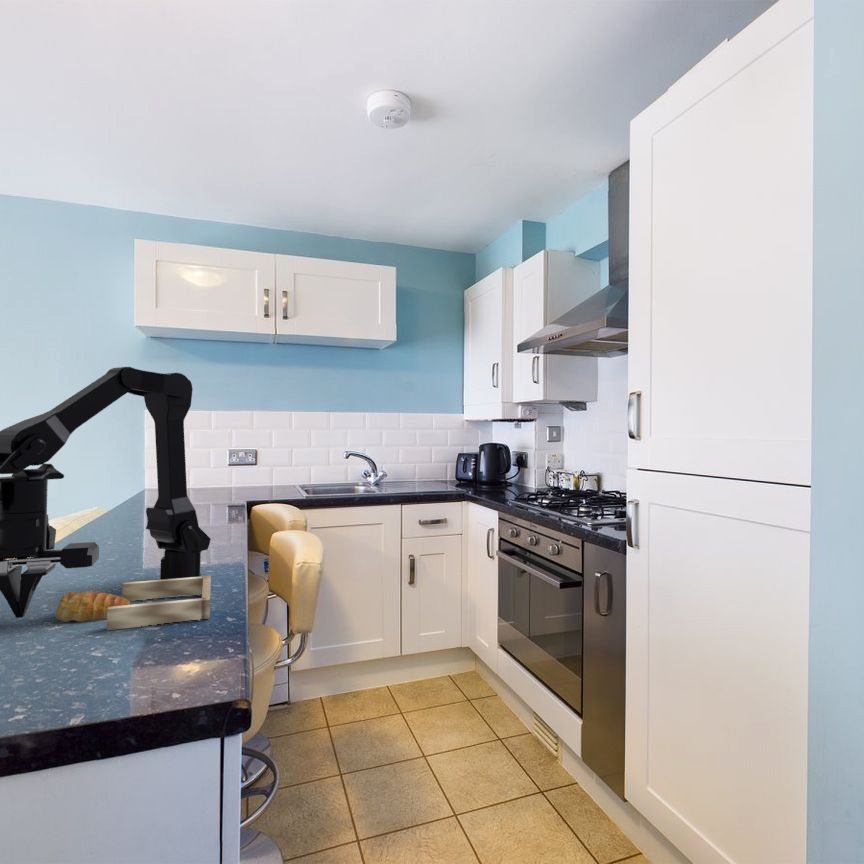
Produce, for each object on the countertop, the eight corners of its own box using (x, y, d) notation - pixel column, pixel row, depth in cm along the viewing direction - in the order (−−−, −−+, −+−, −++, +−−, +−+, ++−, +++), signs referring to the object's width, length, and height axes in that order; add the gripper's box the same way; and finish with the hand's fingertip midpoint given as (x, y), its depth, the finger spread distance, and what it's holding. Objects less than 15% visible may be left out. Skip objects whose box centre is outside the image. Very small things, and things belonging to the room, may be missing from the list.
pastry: (135, 607, 86) (135, 584, 86) (121, 622, 79) (121, 596, 79) (70, 611, 84) (70, 587, 84) (50, 626, 77) (50, 600, 77)
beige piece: (210, 592, 94) (210, 575, 94) (209, 619, 80) (210, 599, 80) (123, 600, 89) (123, 582, 89) (106, 630, 75) (107, 609, 75)
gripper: (106, 502, 89) (104, 595, 88) (-33, 506, 81) (-36, 607, 81) (92, 511, 78) (90, 616, 78) (-69, 516, 71) (-72, 632, 71)
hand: (20, 616), depth 77 cm, fingers closed
